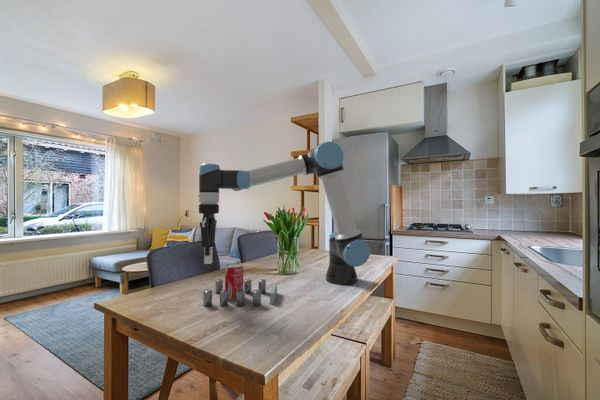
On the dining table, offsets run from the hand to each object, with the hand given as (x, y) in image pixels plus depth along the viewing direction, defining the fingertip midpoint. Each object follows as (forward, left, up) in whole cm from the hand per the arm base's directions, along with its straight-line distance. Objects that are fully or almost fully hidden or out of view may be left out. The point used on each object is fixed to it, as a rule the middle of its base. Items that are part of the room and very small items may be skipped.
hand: (208, 263), depth 106 cm
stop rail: (-26, 0, -14) cm, 29 cm away
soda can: (-10, 0, -14) cm, 17 cm away
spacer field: (-11, 0, -14) cm, 18 cm away
